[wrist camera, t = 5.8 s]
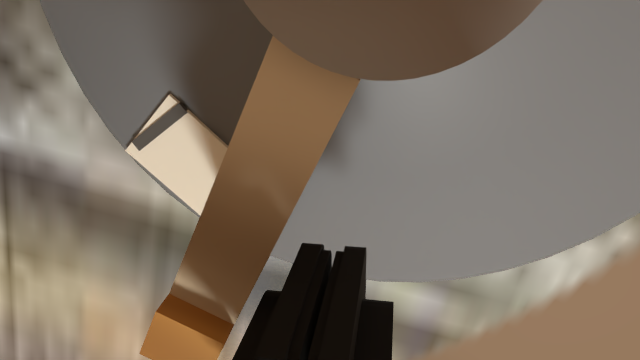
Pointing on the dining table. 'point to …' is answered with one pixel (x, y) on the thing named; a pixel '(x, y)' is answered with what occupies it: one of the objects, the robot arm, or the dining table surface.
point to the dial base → (390, 131)
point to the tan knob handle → (303, 137)
